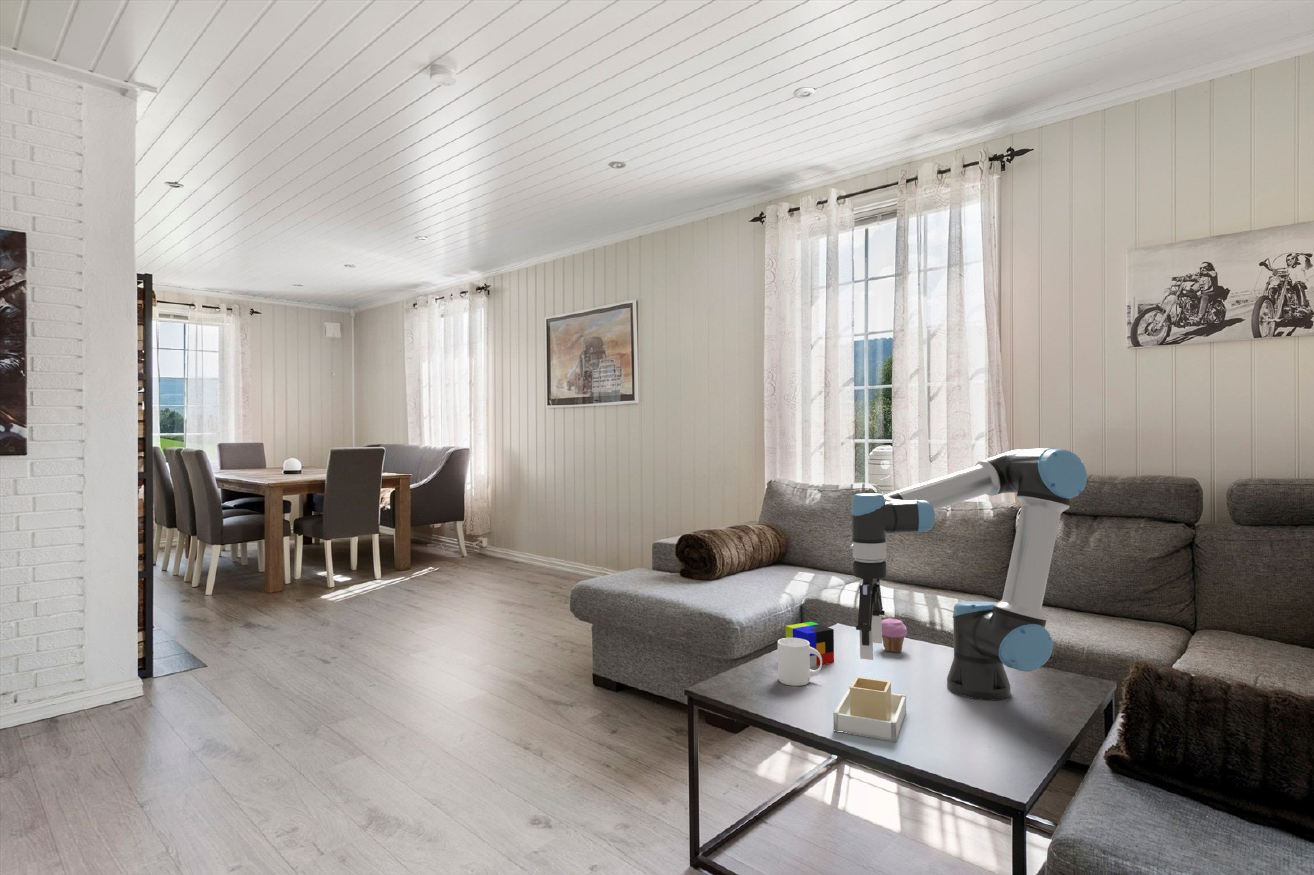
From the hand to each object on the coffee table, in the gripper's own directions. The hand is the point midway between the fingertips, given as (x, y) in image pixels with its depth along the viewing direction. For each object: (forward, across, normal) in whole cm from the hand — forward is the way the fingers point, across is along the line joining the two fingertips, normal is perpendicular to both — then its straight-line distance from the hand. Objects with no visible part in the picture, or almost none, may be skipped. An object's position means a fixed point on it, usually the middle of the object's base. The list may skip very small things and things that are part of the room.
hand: (871, 650), depth 161 cm
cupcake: (+17, -60, -4) cm, 62 cm away
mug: (+17, -20, -22) cm, 34 cm away
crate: (+16, 0, 0) cm, 17 cm away
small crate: (+16, 0, 0) cm, 16 cm away
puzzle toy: (+17, -39, -24) cm, 49 cm away
